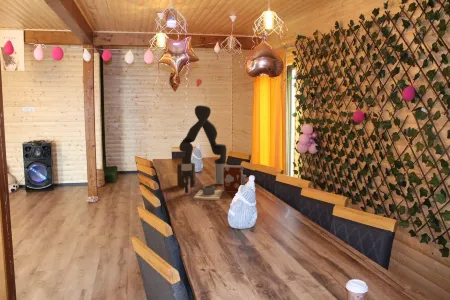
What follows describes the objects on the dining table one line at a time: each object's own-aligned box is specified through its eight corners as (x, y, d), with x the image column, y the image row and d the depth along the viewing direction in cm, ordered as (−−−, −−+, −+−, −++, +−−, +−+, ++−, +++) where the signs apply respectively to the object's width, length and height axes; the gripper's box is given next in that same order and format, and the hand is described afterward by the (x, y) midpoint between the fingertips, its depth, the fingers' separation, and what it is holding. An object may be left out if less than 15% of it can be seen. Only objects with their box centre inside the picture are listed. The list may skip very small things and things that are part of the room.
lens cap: (185, 193, 305) (184, 183, 304) (190, 193, 305) (190, 183, 304) (183, 194, 301) (183, 184, 300) (189, 194, 301) (189, 184, 300)
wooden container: (193, 183, 342) (192, 157, 340) (197, 186, 328) (196, 160, 325) (176, 184, 338) (175, 158, 336) (179, 188, 324) (178, 161, 321)
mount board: (199, 191, 310) (199, 189, 310) (222, 192, 308) (222, 190, 308) (193, 199, 286) (193, 197, 286) (218, 200, 284) (218, 197, 284)
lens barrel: (204, 192, 301) (203, 185, 301) (215, 192, 300) (215, 185, 300) (202, 195, 293) (202, 188, 292) (213, 195, 292) (213, 188, 292)
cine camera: (248, 193, 304) (248, 166, 302) (222, 192, 308) (222, 166, 306) (249, 190, 313) (249, 164, 311) (225, 189, 317) (224, 164, 314)
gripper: (183, 167, 308) (184, 189, 310) (179, 171, 294) (180, 194, 296) (193, 167, 307) (193, 189, 309) (189, 171, 293) (190, 194, 295)
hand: (187, 191), depth 303 cm, fingers closed on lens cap, 4 cm apart
